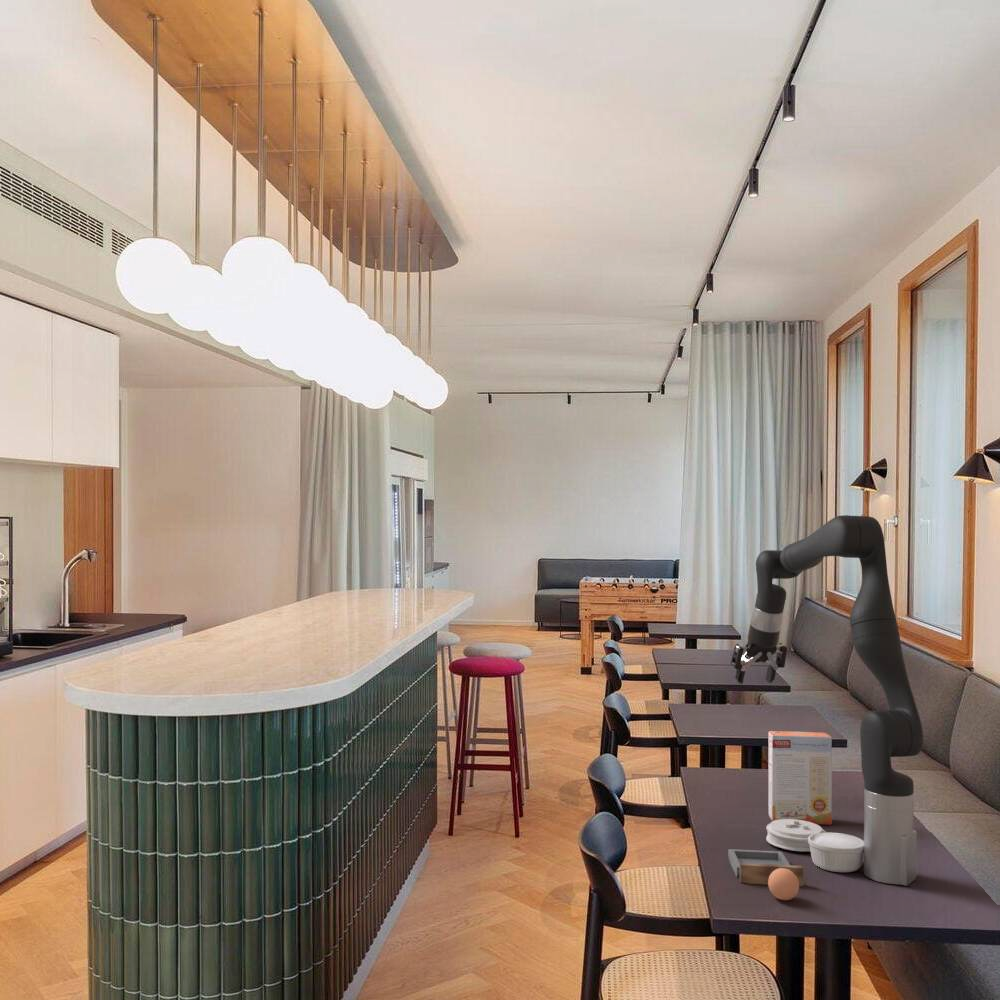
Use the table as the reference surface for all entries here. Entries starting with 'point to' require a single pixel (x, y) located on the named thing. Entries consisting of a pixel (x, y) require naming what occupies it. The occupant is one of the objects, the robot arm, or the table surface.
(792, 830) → the lid
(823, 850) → the ramekin
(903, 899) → the table surface
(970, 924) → the table surface
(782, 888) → the ball
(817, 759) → the cracker box
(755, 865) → the wall
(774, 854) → the tray
